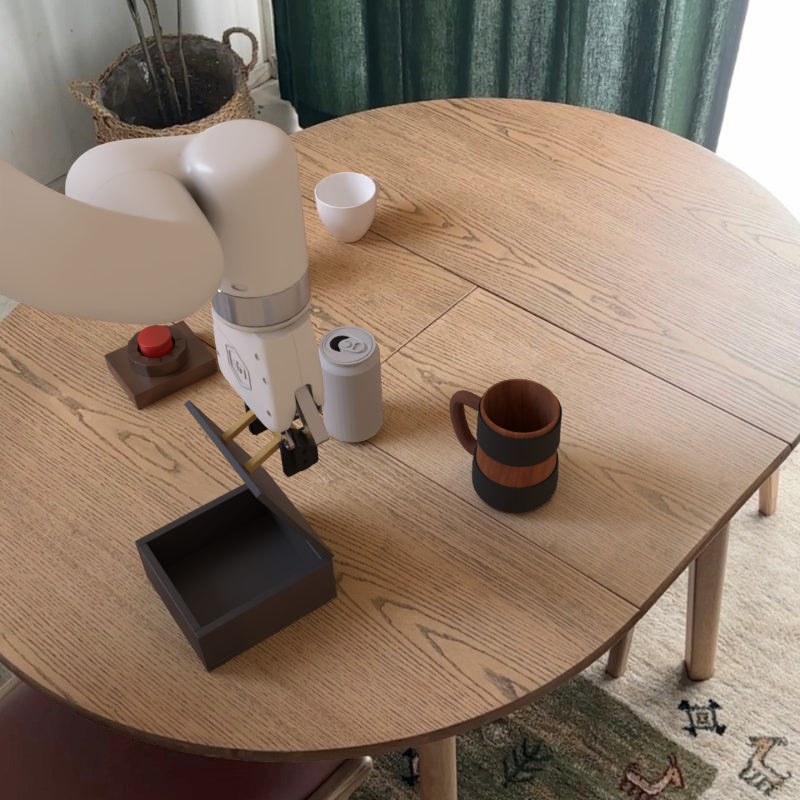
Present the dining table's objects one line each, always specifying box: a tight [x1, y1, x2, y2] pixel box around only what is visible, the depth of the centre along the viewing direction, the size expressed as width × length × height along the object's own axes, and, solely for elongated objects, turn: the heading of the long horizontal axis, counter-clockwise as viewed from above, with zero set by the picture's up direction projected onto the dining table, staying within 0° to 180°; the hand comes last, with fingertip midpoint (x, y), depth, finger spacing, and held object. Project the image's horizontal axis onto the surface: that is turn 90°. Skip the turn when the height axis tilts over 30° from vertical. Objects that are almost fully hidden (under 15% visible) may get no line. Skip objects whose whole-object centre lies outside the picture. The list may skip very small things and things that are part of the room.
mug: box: [448, 378, 563, 515], centre depth 104 cm, size 9×12×12 cm
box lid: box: [183, 399, 336, 560], centre depth 93 cm, size 14×13×6 cm
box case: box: [134, 483, 338, 673], centre depth 98 cm, size 14×13×6 cm
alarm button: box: [138, 324, 173, 358], centre depth 118 cm, size 4×4×2 cm
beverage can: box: [318, 325, 384, 443], centre depth 110 cm, size 6×6×12 cm
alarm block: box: [103, 319, 219, 411], centre depth 119 cm, size 10×8×4 cm
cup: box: [314, 171, 381, 243], centre depth 136 cm, size 8×10×7 cm
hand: (283, 445), depth 91 cm, fingers closed on box lid, 5 cm apart
